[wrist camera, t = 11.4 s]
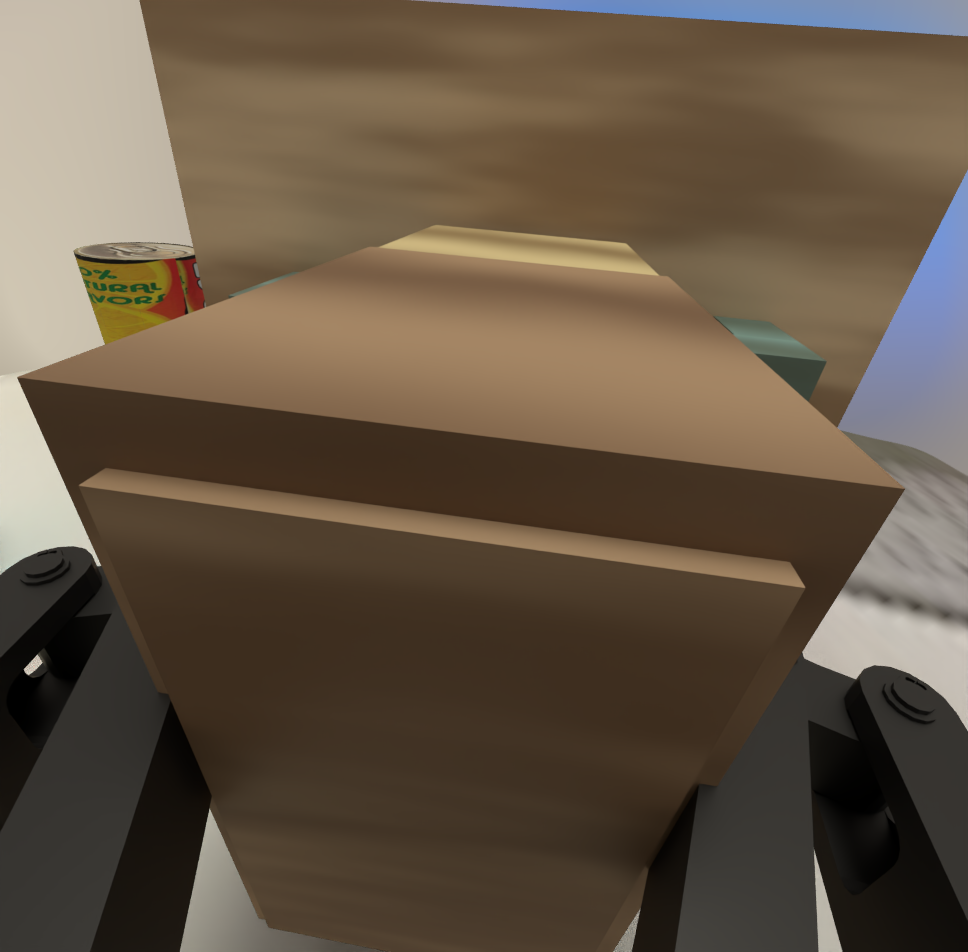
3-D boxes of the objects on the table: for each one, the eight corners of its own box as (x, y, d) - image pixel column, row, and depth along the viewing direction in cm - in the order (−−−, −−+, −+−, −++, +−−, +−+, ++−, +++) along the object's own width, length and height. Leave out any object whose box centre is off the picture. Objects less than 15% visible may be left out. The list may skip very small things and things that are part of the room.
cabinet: (592, 1006, 10) (929, 512, 3) (251, 937, 10) (-21, 390, 4) (572, 524, 23) (631, 243, 17) (425, 504, 24) (429, 224, 17)
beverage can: (162, 412, 43) (117, 264, 36) (99, 387, 46) (48, 247, 40) (247, 381, 50) (223, 252, 43) (188, 362, 53) (157, 239, 47)
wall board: (776, 753, 21) (1347, -50, 8) (192, 657, 23) (-93, -123, 10) (707, 571, 30) (918, 73, 18) (301, 513, 32) (227, 24, 19)
